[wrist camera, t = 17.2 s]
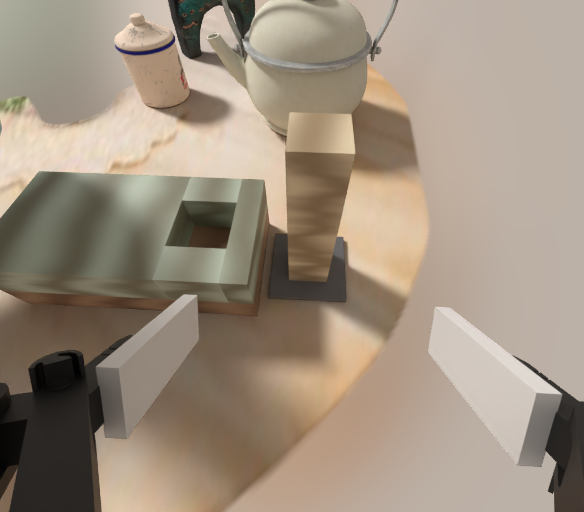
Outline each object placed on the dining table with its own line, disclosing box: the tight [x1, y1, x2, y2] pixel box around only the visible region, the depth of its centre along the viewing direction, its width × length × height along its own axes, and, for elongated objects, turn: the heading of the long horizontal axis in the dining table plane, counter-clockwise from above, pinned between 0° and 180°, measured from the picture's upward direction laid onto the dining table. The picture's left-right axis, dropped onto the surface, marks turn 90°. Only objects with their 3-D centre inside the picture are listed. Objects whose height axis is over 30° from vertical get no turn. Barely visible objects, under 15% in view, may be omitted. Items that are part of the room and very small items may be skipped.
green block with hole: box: [0, 171, 269, 316], centre depth 28 cm, size 24×12×7 cm, turn 87°
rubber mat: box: [269, 234, 346, 302], centre depth 30 cm, size 8×8×1 cm
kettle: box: [206, 0, 398, 136], centre depth 36 cm, size 25×18×25 cm
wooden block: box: [285, 112, 355, 282], centre depth 23 cm, size 4×4×16 cm
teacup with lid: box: [115, 13, 190, 108], centre depth 46 cm, size 12×9×12 cm
